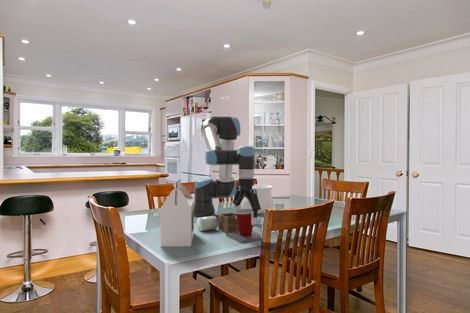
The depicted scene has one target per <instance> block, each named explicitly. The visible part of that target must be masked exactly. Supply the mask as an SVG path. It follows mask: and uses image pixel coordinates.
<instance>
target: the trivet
mask: <svg viewBox="0 0 470 313" xmlns="http://www.w3.org/2000/svg"><path fill="white" fill-rule="evenodd" d="M225 236H226V237H228V238H230V239H232V240H235V241H237V242H238V243H241V244H244V243H249V242H255V241H260V240H262V239H261V233H259V232H256V231H254V230H252V234H251V235H250V236H242V235H240V233H239V231H237V232H231V233H226V232H225Z"/></svg>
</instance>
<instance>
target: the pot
mask: <svg viewBox="0 0 470 313" xmlns="http://www.w3.org/2000/svg"><path fill="white" fill-rule="evenodd" d="M252 189H256V190H257V196H258V200H259V204H260V207H261V209H260V210H258V211H257V215H261V214H265V213H264V211H265V209H266V208H269V209H274V205H275V202H274V198H273V195H272V190H273V186H272V185H269V184H257V183H256V184H255V183H254V186H252ZM239 206H241V209H252V207H251V205H250V203H249V200H248V199H247V198H246V197H244V198H243V200H242V202H241V205H239Z"/></svg>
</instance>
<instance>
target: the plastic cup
mask: <svg viewBox="0 0 470 313" xmlns="http://www.w3.org/2000/svg"><path fill="white" fill-rule="evenodd" d="M251 211H252V209H240V210H236V211H235V210H234V213H235V214H236V217H237V222H238V228H239V233H240V235H242V236H250V235H251V234H252V231H253V229H254V225H252V224H251Z"/></svg>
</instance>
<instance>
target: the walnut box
mask: <svg viewBox="0 0 470 313" xmlns="http://www.w3.org/2000/svg"><path fill="white" fill-rule="evenodd" d="M217 220H218V227H217V230H219V231H221V232H223V233H225V234H226V233H232V232H238V231H239V228H238V222H237V219H236V214H235V212H227V213H220V214H219V213H218V215H217Z"/></svg>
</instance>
